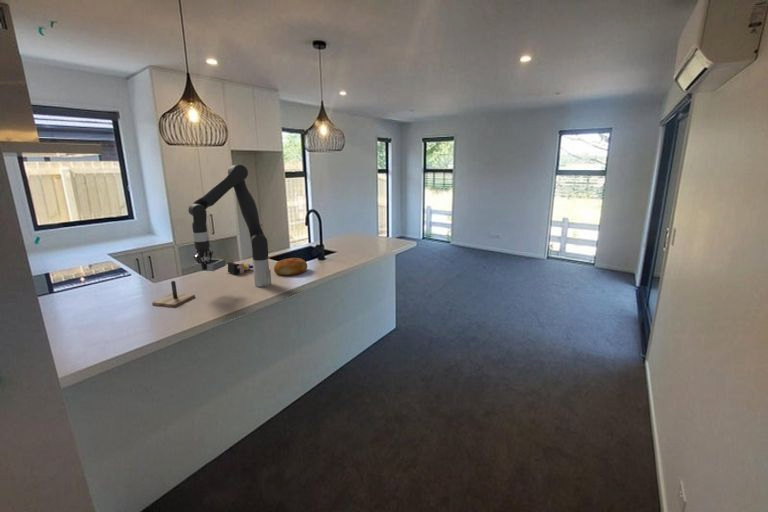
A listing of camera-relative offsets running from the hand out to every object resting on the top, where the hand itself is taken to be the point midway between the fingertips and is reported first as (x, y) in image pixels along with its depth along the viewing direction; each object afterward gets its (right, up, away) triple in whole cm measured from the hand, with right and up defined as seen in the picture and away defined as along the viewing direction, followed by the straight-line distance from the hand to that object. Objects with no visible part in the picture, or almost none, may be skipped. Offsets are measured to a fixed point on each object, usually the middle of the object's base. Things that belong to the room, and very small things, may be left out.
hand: (205, 269), depth 195 cm
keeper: (-15, -17, -3) cm, 23 cm away
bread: (+35, -4, +52) cm, 62 cm away
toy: (-1, -4, +51) cm, 51 cm away
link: (+1, +1, +5) cm, 5 cm away
